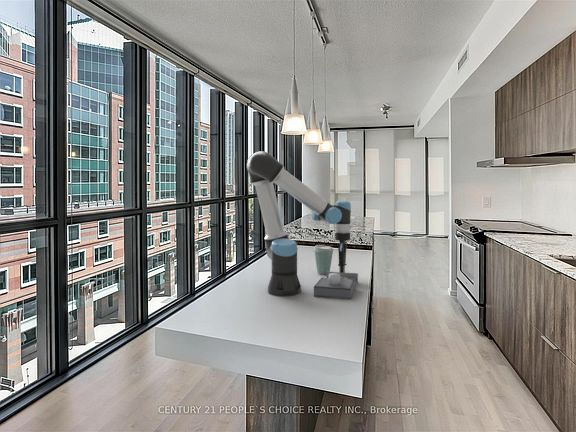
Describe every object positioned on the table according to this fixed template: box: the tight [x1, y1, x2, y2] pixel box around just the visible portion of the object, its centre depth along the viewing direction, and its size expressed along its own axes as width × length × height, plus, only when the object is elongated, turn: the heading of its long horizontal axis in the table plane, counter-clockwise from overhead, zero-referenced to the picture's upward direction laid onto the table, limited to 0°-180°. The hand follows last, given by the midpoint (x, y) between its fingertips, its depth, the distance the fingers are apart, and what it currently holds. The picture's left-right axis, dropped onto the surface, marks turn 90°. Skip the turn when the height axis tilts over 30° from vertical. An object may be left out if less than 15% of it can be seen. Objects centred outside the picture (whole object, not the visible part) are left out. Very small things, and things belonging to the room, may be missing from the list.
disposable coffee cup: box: [313, 244, 334, 275], centre depth 212 cm, size 11×11×15 cm
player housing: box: [313, 273, 356, 300], centre depth 175 cm, size 16×16×9 cm
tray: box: [326, 271, 359, 284], centre depth 188 cm, size 16×16×4 cm
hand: (342, 278), depth 197 cm, fingers closed
